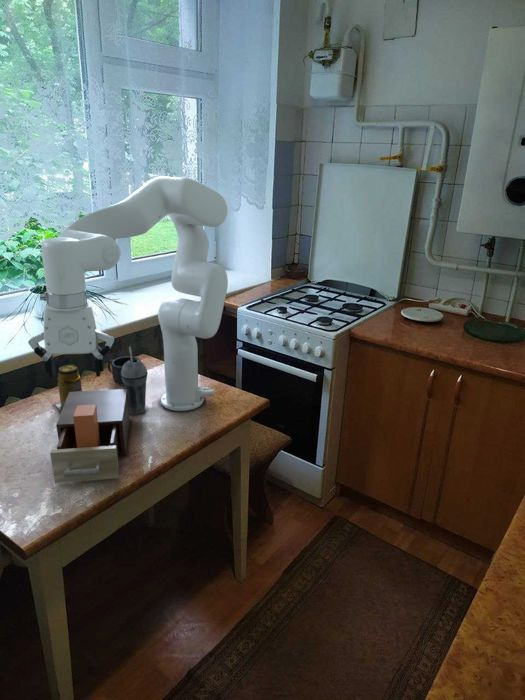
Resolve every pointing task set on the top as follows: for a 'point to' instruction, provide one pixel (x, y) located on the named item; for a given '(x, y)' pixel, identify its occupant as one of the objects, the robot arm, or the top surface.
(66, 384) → the condiment
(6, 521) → the top surface
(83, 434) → the block
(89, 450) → the drawer
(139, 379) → the beverage cup
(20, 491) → the top surface
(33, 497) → the top surface
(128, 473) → the top surface
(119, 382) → the mug
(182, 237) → the robot arm
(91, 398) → the cabinet
